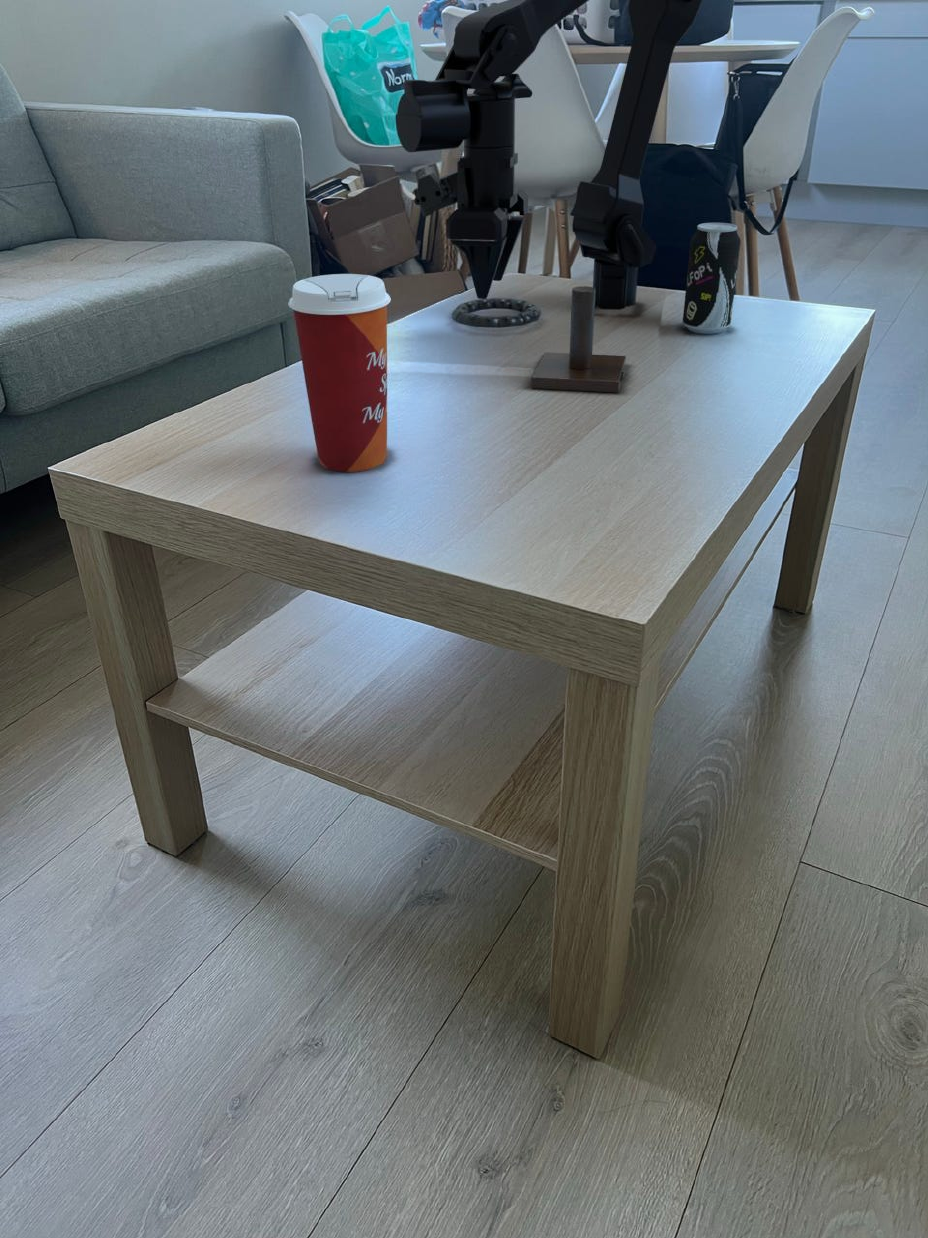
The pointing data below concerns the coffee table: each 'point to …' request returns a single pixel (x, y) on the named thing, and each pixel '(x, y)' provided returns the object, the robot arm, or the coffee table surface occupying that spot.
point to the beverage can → (711, 278)
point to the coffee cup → (345, 366)
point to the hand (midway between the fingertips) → (489, 289)
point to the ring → (526, 316)
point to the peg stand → (580, 355)
